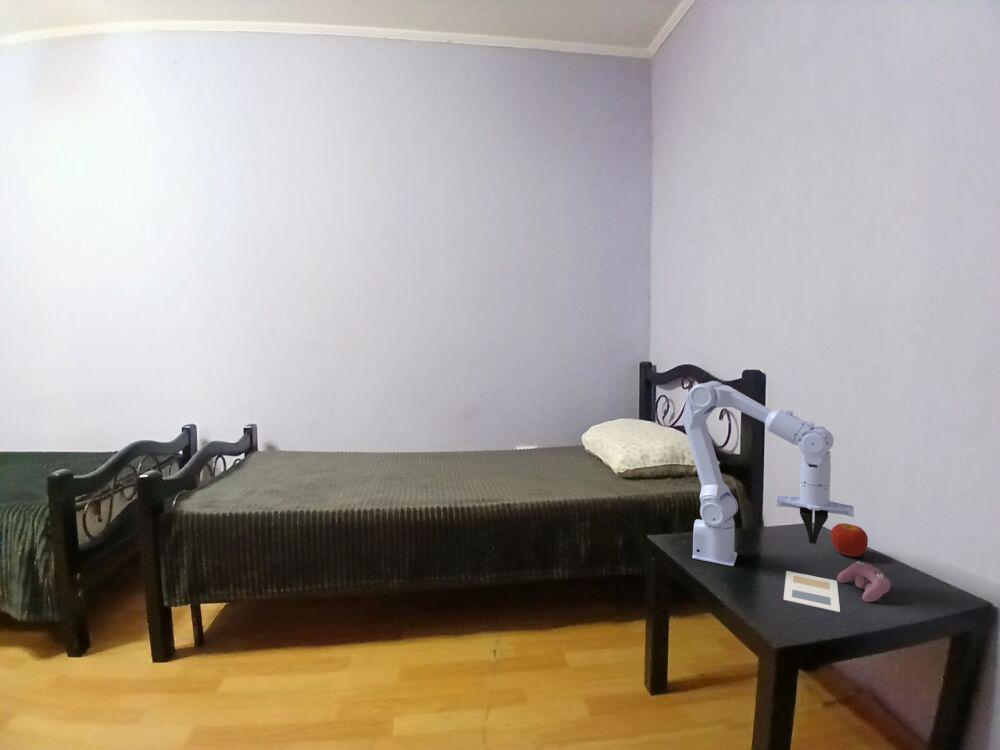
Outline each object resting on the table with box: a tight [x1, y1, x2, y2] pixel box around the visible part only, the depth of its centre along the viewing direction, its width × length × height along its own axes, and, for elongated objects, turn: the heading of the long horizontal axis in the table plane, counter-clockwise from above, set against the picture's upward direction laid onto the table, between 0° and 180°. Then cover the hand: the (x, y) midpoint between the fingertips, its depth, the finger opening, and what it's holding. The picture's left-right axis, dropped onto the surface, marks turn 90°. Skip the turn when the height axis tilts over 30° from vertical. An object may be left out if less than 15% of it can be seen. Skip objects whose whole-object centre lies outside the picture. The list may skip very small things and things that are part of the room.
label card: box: [783, 570, 841, 613], centre depth 113 cm, size 10×15×1 cm, turn 149°
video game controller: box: [836, 561, 891, 603], centre depth 112 cm, size 10×5×7 cm, turn 0°
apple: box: [830, 522, 869, 558], centre depth 131 cm, size 8×8×8 cm
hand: (812, 542), depth 116 cm, fingers closed
